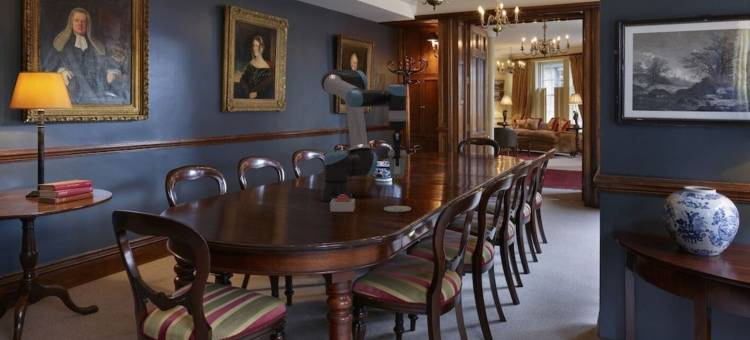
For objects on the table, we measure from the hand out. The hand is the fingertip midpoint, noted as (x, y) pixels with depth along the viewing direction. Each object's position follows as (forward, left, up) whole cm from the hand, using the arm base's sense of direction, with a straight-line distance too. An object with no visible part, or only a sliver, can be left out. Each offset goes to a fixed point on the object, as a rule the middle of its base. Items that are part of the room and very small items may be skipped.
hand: (397, 172), depth 249 cm
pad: (0, 0, -16) cm, 16 cm away
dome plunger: (-16, -18, -15) cm, 28 cm away
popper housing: (-16, -18, -16) cm, 29 cm away
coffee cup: (0, 0, -3) cm, 3 cm away
